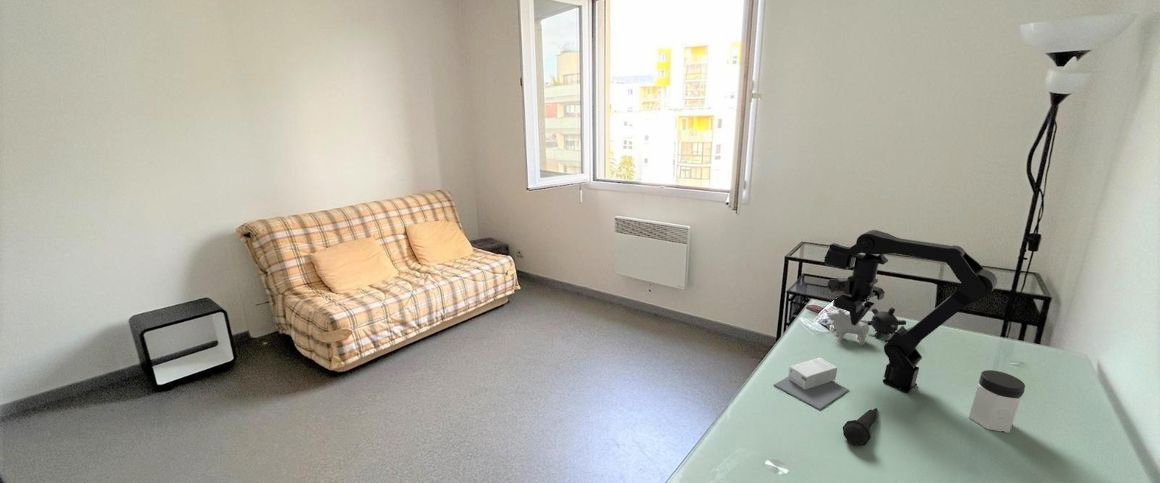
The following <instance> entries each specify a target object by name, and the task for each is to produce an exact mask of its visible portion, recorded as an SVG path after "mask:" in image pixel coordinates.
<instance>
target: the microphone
mask: <svg viewBox="0 0 1160 483" xmlns="http://www.w3.org/2000/svg"><path fill="white" fill-rule="evenodd" d="M878 410H879V409H878V408H877V407H874V408H873V409H871V408H870V409H868V410H867V411H866V412H865V413H863V415H862V414H861V416H859V418H857V419H853V420H848V421H846V422H845V423H844V424H843V426H842V434H843V437H844V438H845V439H846V441H847V442H848V443H849V444H852V445H854V446H857V447H859V446H866V445H867V444H868V443H869V441H870V440H871V439H872V437H871V428H872V426H873V425H874V423H875V421H876V419H877V418H878Z"/></svg>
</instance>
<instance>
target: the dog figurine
mask: <svg viewBox="0 0 1160 483" xmlns="http://www.w3.org/2000/svg"><path fill="white" fill-rule="evenodd" d="M835 308H836V309H834V310H831V311H826V315H827V317H828V319H829V320H830V321H832V326H833V329H834V330H835V333H834V336H835V337H838V338H837V339H836V341H837V342H842V340H843V338H844V337H845V335H846V334H852V335H853V334H855V335H856V336H855V339H856V340H860V341H859V345H864V344H865V341H866V338H867V335H868V333H869V332H870V325H868V322H867V321H868V320H866V319H863V318H862V319H861V320H860V321H859V323H858V324H857V325H855V326H854V325H852V324H851V318H850V312H849V313H845V310H843V309H840V308H837V307H835Z"/></svg>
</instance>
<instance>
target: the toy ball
mask: <svg viewBox="0 0 1160 483" xmlns="http://www.w3.org/2000/svg"><path fill="white" fill-rule="evenodd" d="M871 312H872V314H873V315H872V318H871V320H867V322H868V326H872V328H873V330H874V329H875V330H874V331H875V334H874V337H875V339H880V338H881V336H882V335H890V336H891V335H892V334H893V333H896V331H897V330H898V329H899V328H898V327H899V326H906V325H907V321H906V320H904V319H903V320H902V319H901V320H900V319H899V320H898V318H897V317H896V316H895V312H896V308H894V307H890V308H889V310H887V311H879V310H878V309H877V308H875V307H874V308H872V309H871Z"/></svg>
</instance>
